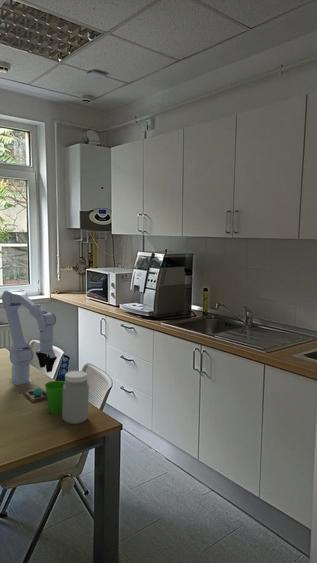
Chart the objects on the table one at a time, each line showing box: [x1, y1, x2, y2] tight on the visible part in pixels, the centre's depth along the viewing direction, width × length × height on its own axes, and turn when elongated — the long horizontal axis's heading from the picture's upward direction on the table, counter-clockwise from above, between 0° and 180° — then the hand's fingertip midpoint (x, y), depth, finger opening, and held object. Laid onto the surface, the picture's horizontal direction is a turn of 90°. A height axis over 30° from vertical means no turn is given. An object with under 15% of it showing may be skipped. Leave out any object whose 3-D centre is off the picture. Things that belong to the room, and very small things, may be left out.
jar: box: [61, 370, 90, 425], centre depth 157 cm, size 10×10×18 cm
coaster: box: [18, 389, 31, 395], centre depth 183 cm, size 5×5×1 cm
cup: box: [44, 380, 65, 415], centre depth 164 cm, size 9×9×11 cm
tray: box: [23, 388, 48, 404], centre depth 177 cm, size 10×8×2 cm
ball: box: [32, 387, 43, 397], centre depth 177 cm, size 4×4×4 cm
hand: (45, 369), depth 185 cm, fingers open, 7 cm apart
